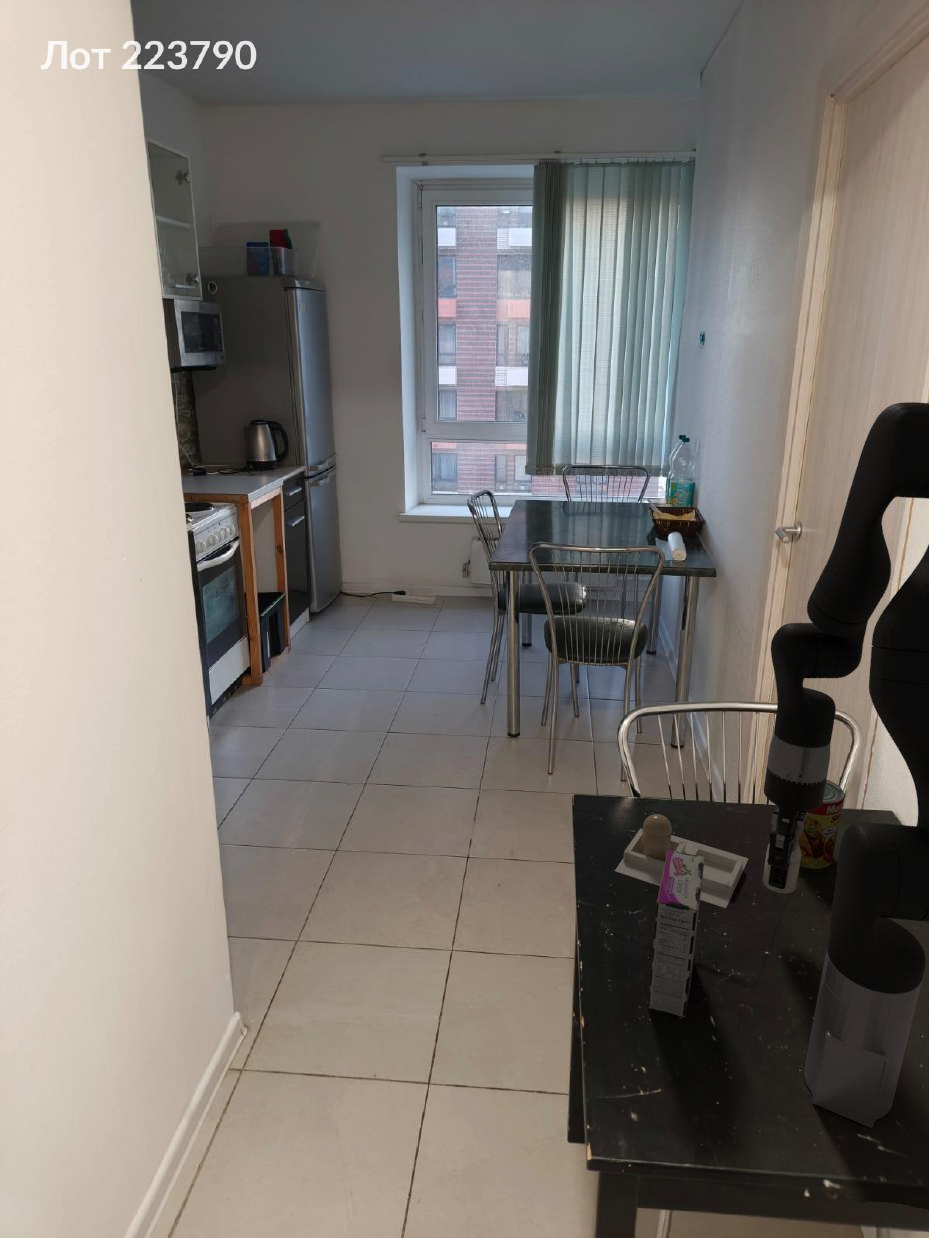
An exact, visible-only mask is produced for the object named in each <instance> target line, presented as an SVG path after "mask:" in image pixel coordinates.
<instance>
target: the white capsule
mask: <svg viewBox="0 0 929 1238" xmlns="http://www.w3.org/2000/svg"><path fill="white" fill-rule="evenodd" d="M792 842H793V841H792ZM769 845H770V842H768V845H767V849H766V855H765V863H764V868H763V874H762V875H763V876H762V883H763V885H764V886H765V888H767V889H769V890H771V891H773V892H775V893H780V894H791V893H793V892H795V890H796V889H797V883H798V879H799V873H800V872H799V871H800V867H801V866H800V860H801V849H800V847H799V845H798V846H797V848H796V850H795V851H793V852H792V855H791V865H789V869H788V875H787V882H786V886H785V888H784V889H779V888H776V887H773V886H770V885H769V883H768V881H769V874H770V867H771V865H768V862H767V860H768V856H769Z"/></svg>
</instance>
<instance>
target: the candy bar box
mask: <svg viewBox="0 0 929 1238" xmlns="http://www.w3.org/2000/svg"><path fill="white" fill-rule="evenodd" d="M703 868H704V857H702V856H696V855H690V854H686V853H679V852H677V851H669V850H668V851H667V854H666V859H665V865H664V870H663V875H662V880H661V885H660V886H659V890H658V895H657V900H656V911H655V913H656V914H655V922H654V932H653V934H654V935H653V945H652V958H651V959H652V960H651V967H650V969H651V970H650V979H649V990H648V1001H647V1008H648V1009H650V1010H652V1009H654V1010H653V1011H655V1010H656V1011H655V1012H659V1011H660V1013H665V1014H668V1015H669V1014H670V1015H673V1016H677V1017H680V1018H684V1019H685V1018H686V1016H687V1009H688V1003H689V996H690V989H691V984H692V983H691V982H692V975H693V968H694V967H693V966H694V957H695V946H696V938H697V932H698V931H697V929H698V920H699V911H700V904H701V900H700V896H701V888H702V878H703Z"/></svg>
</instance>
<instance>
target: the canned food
mask: <svg viewBox="0 0 929 1238" xmlns="http://www.w3.org/2000/svg"><path fill="white" fill-rule="evenodd" d="M844 797H845V792H844V790H843V788H842V787H841V786H839V784H837V783H835V782H834V781H831V780H829V779H827V780H826V786H825V792H824V798H823V803H822V804H821V806H820V807H818V808H817V809H814V810H811V811H808V813H807V817H806V821H805V822H804V829H803V832H802V835H801V836H799V843H798V845H799V847H800V849H801V860H800V866H799V867H801V868H806V869H812V870H813V869H814V870H815V869H824V868H827V867H829V866H830V865H831V864H832V862H833V860H834V859H833V858H834V852H835V847H836V841H837V836H838V830H839V825H840V819H841V815H842V811H843V804H844Z"/></svg>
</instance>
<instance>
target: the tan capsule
mask: <svg viewBox="0 0 929 1238" xmlns="http://www.w3.org/2000/svg"><path fill="white" fill-rule="evenodd" d="M642 825H643V826H642V829H643V832H642V843H641V854H642V855H645V856H648V857H651V858H655V859H658V860H661V861H664V862H665V859H666V854H667V851H668V850H669V851H670V842H671V835H672V831H673V830H672V829H673V828H672V823H671V821H670V820H669V819H668V817H666V816H665V815H662V814H659V813H654V814H651V815H649V816H648V817H646V819H645V820H644V822H643V824H642Z"/></svg>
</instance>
